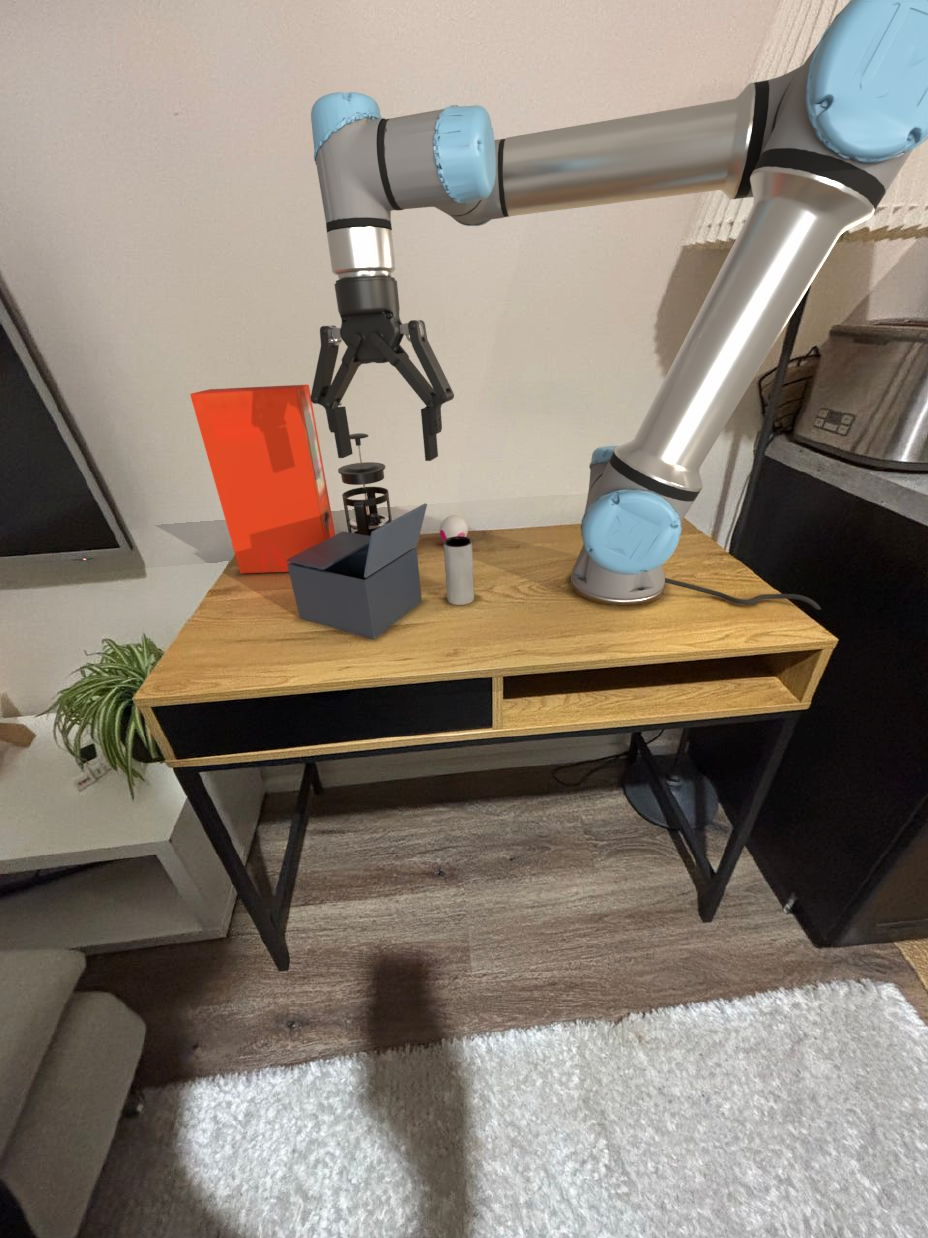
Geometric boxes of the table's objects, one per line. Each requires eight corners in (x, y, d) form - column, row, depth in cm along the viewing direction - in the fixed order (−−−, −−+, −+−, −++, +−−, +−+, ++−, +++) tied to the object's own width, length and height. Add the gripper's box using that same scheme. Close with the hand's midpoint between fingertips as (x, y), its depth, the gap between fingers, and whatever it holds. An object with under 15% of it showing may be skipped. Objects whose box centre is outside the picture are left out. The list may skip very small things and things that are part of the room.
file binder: (255, 557, 106) (210, 388, 90) (339, 554, 105) (308, 383, 89) (240, 574, 99) (188, 393, 83) (330, 571, 98) (295, 388, 82)
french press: (357, 540, 111) (339, 429, 100) (399, 539, 111) (387, 427, 99) (343, 563, 101) (322, 442, 90) (390, 562, 101) (375, 440, 89)
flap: (415, 544, 81) (417, 545, 81) (363, 576, 71) (365, 578, 71) (425, 502, 76) (427, 504, 76) (371, 531, 67) (373, 533, 66)
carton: (421, 601, 86) (416, 543, 81) (374, 639, 76) (364, 576, 71) (352, 585, 92) (342, 531, 87) (299, 618, 83) (285, 559, 78)
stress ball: (444, 551, 112) (425, 529, 109) (473, 529, 111) (454, 505, 108) (448, 564, 106) (428, 540, 103) (479, 540, 104) (459, 515, 101)
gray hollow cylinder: (471, 606, 84) (469, 547, 78) (444, 604, 85) (440, 546, 79) (476, 593, 87) (474, 536, 82) (450, 592, 88) (447, 535, 83)
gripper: (473, 269, 61) (479, 453, 71) (297, 286, 69) (326, 449, 79) (450, 265, 55) (461, 466, 65) (260, 283, 63) (297, 460, 73)
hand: (387, 457), depth 72 cm, fingers open, 13 cm apart
